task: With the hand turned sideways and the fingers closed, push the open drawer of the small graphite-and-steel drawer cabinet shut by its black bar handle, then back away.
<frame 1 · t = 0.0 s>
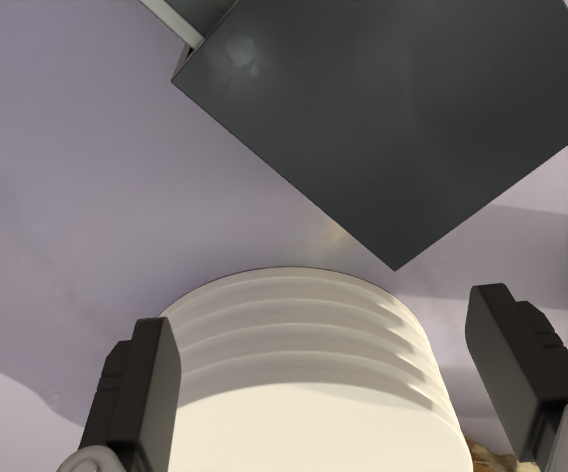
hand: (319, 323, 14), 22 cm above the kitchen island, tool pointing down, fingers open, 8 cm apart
plate stack: (283, 379, 49), on the kitchen island
cabinet: (367, 35, 31), on the kitchen island
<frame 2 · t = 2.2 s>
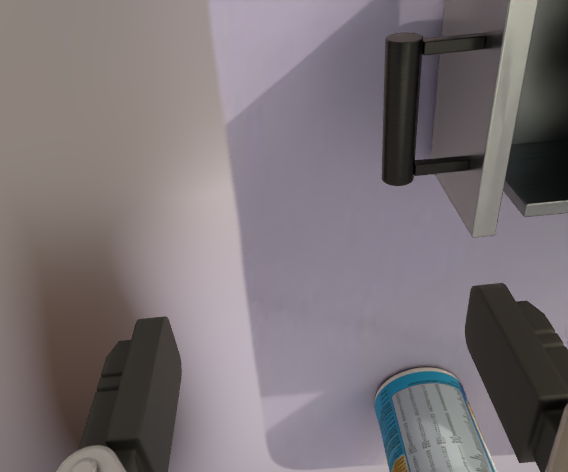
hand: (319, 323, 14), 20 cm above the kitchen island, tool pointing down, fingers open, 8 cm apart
drawer: (562, 81, 26), point 5 cm above the kitchen island, slide at 7.0 cm
beverage bottle: (416, 392, 48), on the kitchen island
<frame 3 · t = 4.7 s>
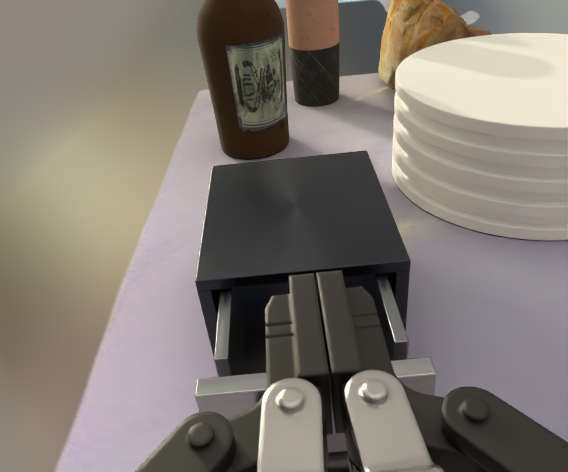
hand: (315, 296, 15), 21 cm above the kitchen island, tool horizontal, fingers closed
plate stack: (514, 170, 60), on the kitchen island
drawer: (311, 359, 33), point 5 cm above the kitchen island, slide at 7.0 cm
crumpled paper bag: (435, 91, 82), on the kitchen island
olive oil: (255, 145, 71), on the kitchen island
cabinet: (303, 300, 45), on the kitchen island
travel mug: (317, 99, 83), on the kitchen island
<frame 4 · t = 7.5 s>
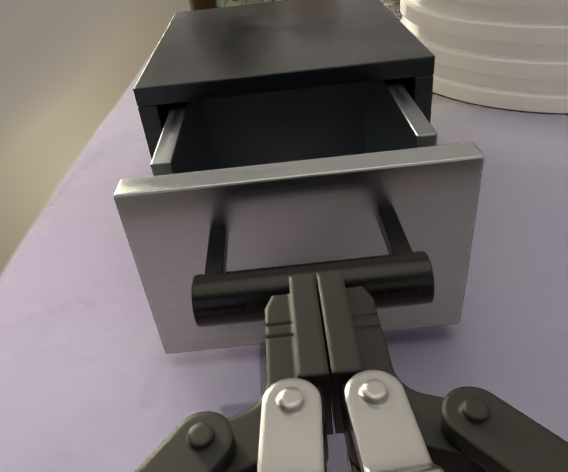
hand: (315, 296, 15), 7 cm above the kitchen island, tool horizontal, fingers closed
plate stack: (544, 59, 50), on the kitchen island
drawer: (296, 197, 24), point 5 cm above the kitchen island, slide at 6.8 cm, touching gripper
olive oil: (239, 53, 62), on the kitchen island
cabinet: (291, 177, 35), on the kitchen island
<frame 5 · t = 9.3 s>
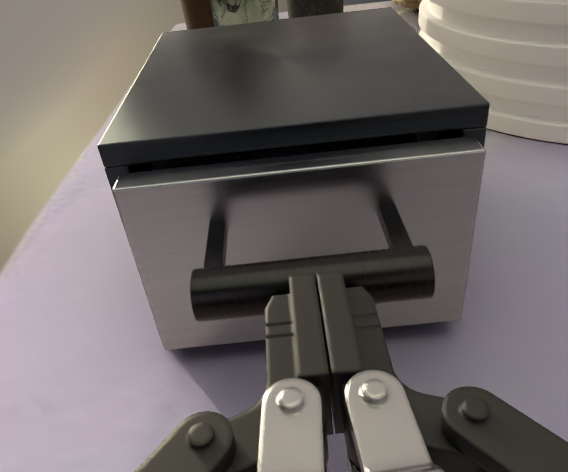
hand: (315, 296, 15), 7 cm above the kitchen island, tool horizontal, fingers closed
drawer: (296, 193, 24), point 5 cm above the kitchen island, slide at 0.4 cm, touching gripper
crumpled paper bag: (460, 13, 67), on the kitchen island
olive oil: (239, 68, 57), on the kitchen island
cabinet: (298, 228, 30), on the kitchen island
travel mug: (316, 25, 69), on the kitchen island
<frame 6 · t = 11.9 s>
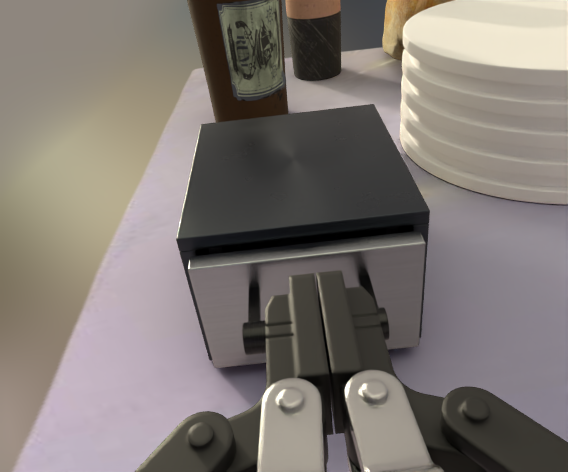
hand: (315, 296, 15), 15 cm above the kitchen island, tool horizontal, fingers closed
plate stack: (535, 136, 55), on the kitchen island
drawer: (304, 256, 34), point 5 cm above the kitchen island, slide at 0.4 cm
crumpled paper bag: (443, 62, 77), on the kitchen island
olive oil: (252, 119, 66), on the kitchen island
cabinet: (305, 272, 40), on the kitchen island
travel mug: (317, 73, 79), on the kitchen island
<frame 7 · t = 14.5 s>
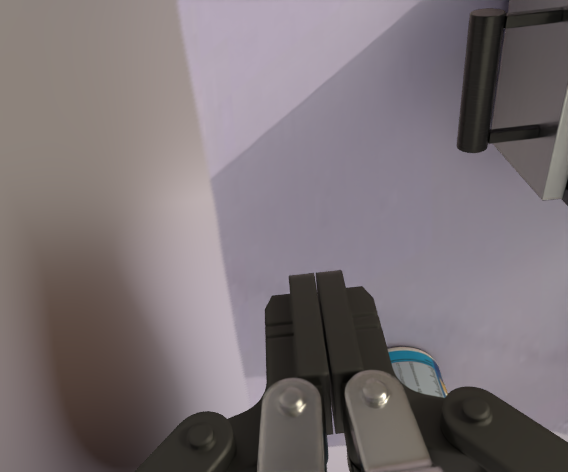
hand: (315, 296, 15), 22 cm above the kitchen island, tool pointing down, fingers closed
beverage bottle: (394, 371, 50), on the kitchen island
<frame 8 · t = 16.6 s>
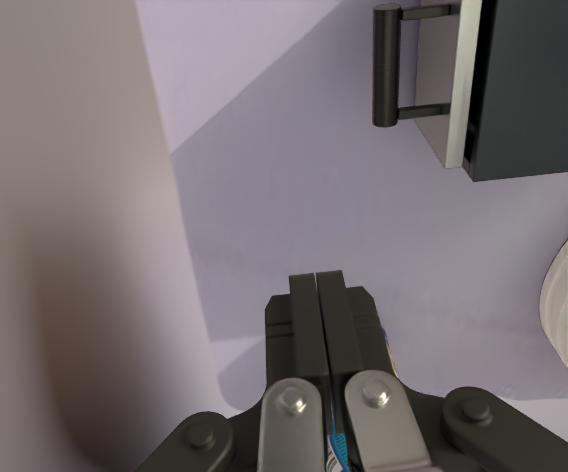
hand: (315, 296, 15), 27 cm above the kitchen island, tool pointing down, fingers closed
drawer: (515, 43, 33), point 5 cm above the kitchen island, slide at 0.4 cm
beverage bottle: (346, 336, 55), on the kitchen island
cabinet: (547, 18, 37), on the kitchen island
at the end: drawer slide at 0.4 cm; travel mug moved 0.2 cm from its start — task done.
